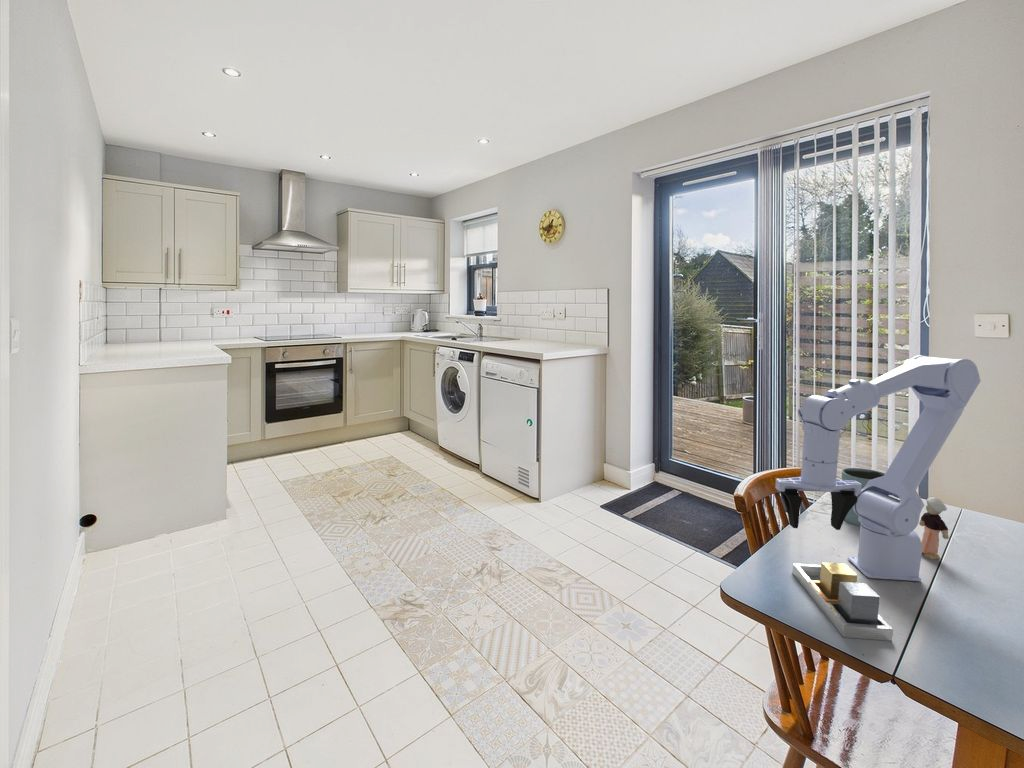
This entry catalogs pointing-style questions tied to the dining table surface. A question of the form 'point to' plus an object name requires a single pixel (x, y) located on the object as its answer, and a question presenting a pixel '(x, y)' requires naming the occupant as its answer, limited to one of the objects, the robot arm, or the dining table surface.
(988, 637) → the dining table surface
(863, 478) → the green pot
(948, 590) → the dining table surface
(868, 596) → the gunmetal nut block
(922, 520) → the grandmother figurine
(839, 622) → the zinc tray
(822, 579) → the golden block
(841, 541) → the dining table surface
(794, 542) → the dining table surface
